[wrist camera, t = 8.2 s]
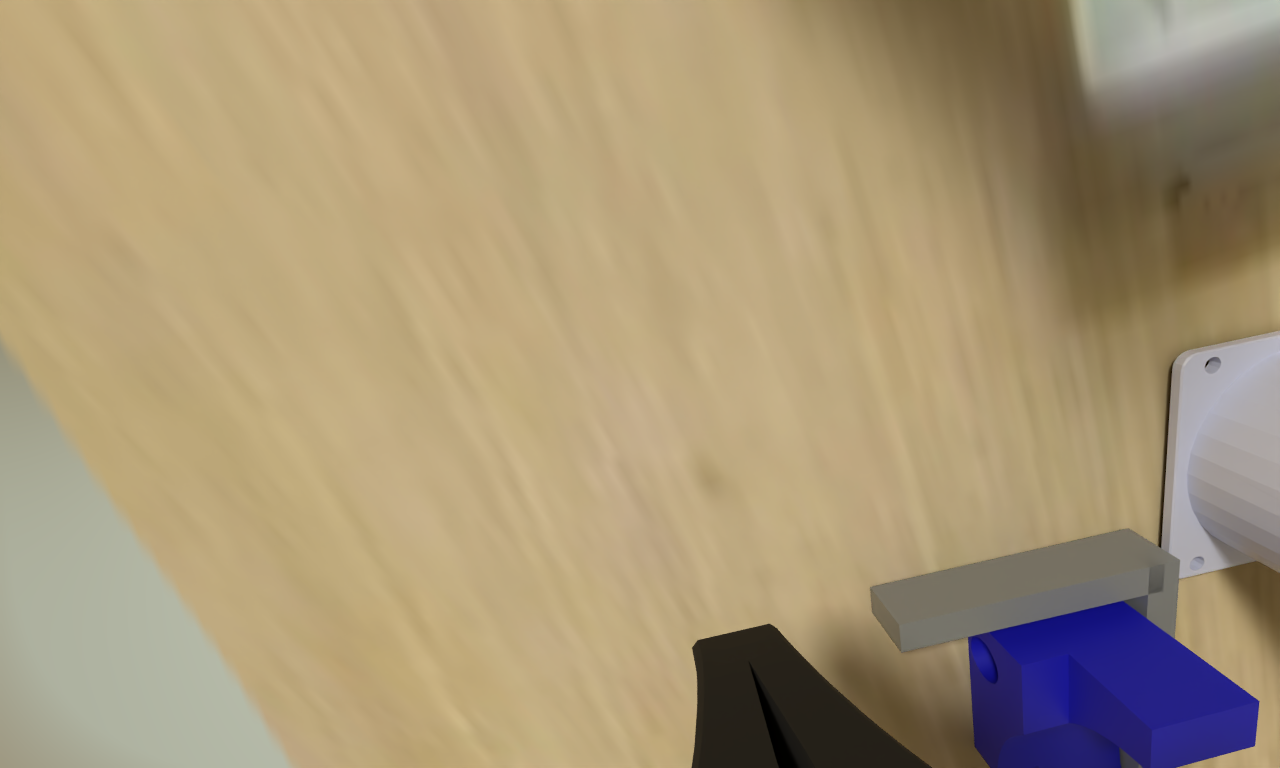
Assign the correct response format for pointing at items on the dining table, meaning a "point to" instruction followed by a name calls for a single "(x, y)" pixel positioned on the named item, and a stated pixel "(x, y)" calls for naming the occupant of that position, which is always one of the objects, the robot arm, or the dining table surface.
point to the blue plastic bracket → (1101, 695)
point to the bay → (1032, 591)
